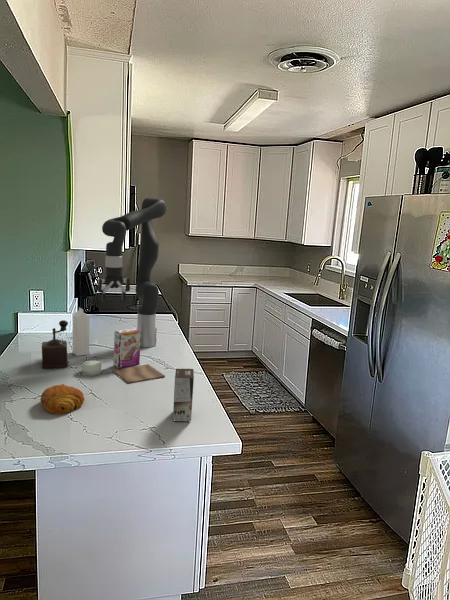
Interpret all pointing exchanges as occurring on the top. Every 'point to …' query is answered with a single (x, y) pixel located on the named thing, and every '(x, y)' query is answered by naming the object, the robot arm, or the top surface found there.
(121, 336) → the candy bar box
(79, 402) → the croissant
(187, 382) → the coffee box
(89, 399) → the top surface
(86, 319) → the milk
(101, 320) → the top surface
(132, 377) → the display board
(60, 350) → the coffee grinder
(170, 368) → the top surface
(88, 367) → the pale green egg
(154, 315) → the robot arm
